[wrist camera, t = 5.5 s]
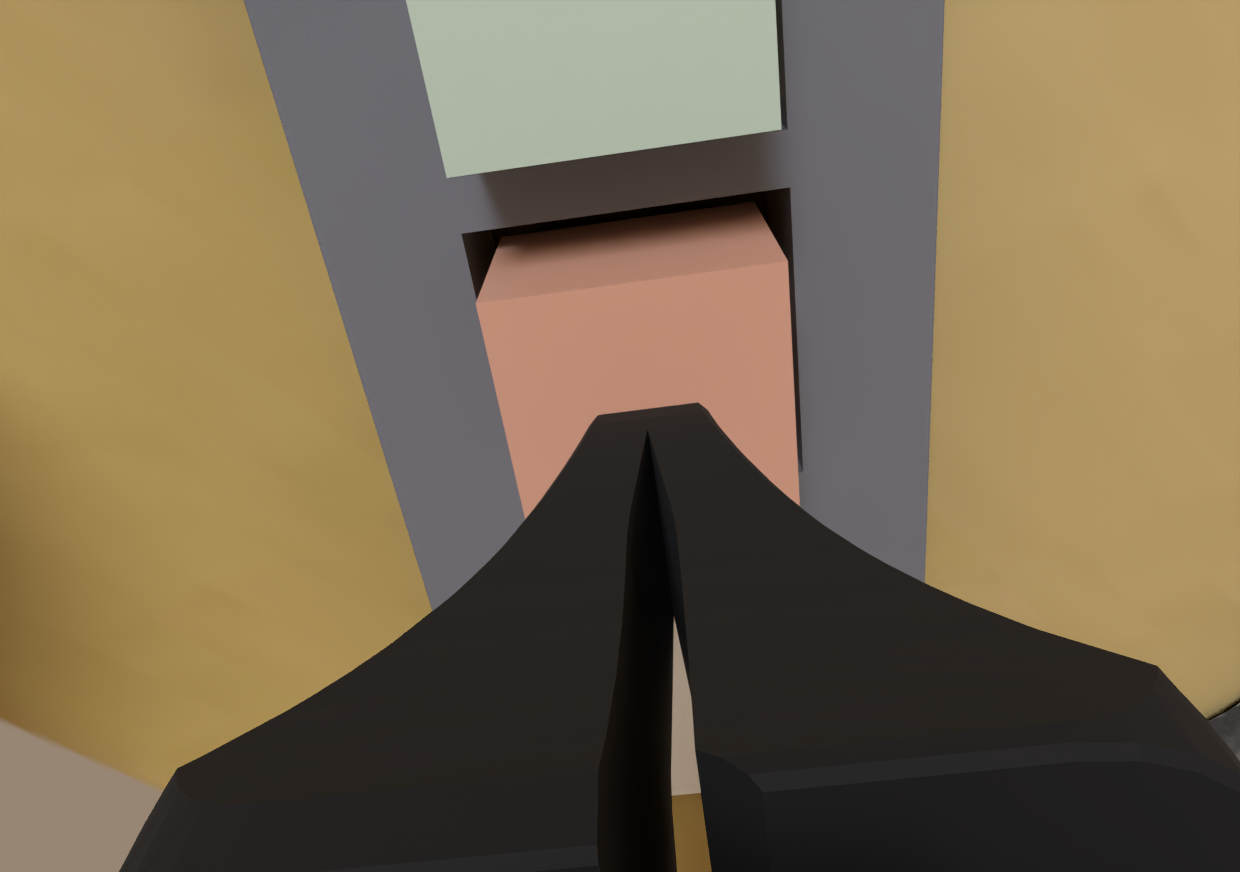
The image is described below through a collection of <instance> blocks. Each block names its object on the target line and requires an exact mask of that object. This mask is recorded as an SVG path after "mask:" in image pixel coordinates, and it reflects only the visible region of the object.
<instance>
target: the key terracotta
mask: <svg viewBox="0 0 1240 872" xmlns="http://www.w3.org/2000/svg"><path fill="white" fill-rule="evenodd" d="M476 308H477V312H478V316H479V321H480V325H481V329H482V334H483V338H484V342H485V347H486V351H487V355H488V360H489V364H490V369H491V373H492V377H493V382H494V386H495V390H496V395H497V399H498V403H499V408H500V412H501V416H502V421H503V425H504V429H505V434H506V438H507V443H508V447H509V451H510V456H511V460H512V464H513V469H514V473H515V477H516V482H517V486H518V490H519V495H520V499H521V503H522V508H523V512H524V517H525V519H526V518H527V517H528V515H529V514H530V513H531V512H532V510H533V509H534V508H535V507H536V505H537V504H538V503H539V501H540V500H541V499H542V497H543V496H544V494H545V493H546V492H547V490H548V489H549V487H550V486H551V485H552V483H553V482H554V480H555V479H556V478H557V476H558V475H559V473H560V472H561V470H562V469H563V468H564V466H565V464H566V463H567V461H568V460H569V458H570V457H571V455H572V454H573V452H574V450H575V449H576V447H577V446H578V444H579V442H580V441H581V439H582V437H583V436H584V434H585V432H586V431H587V429H588V427H589V426H590V424H591V423H592V422H593V420H594V419H595V418H596V417H597V416H598V415H602V414H610V413H618V412H626V411H634V410H642V409H650V408H658V407H666V406H673V405H681V404H689V403H697V402H698V403H700V404H701V405H702V406H704V407H705V408H706V409H707V410H708V411H709V412H710V414H711V416H712V417H713V418H714V420H715V421H716V423H717V424H718V425H719V427H720V428H721V429H722V430H723V432H724V433H725V434H726V435H727V436H728V437H729V439H730V440H731V441H732V442H733V443H734V444H735V445H736V447H737V448H738V449H739V450H740V451H741V452H742V453H743V454H744V455H745V456H746V457H747V458H748V459H749V460H750V461H751V462H752V463H753V464H754V465H755V466H756V467H757V468H758V469H759V470H760V471H761V472H762V473H763V474H764V475H765V476H766V477H767V478H768V479H769V480H770V481H771V482H772V483H773V484H774V485H776V486H777V487H778V488H779V489H780V490H781V491H782V492H783V493H784V494H786V495H787V496H788V497H789V498H790V499H792V500H793V501H794V502H795V503H796V504H798V505H799V506H800V498H799V478H798V457H797V437H796V416H795V396H794V375H793V354H792V334H791V313H790V293H789V272H788V260H787V259H786V257H785V255H784V253H783V252H782V250H781V248H780V246H779V244H778V243H777V241H776V239H775V237H774V236H773V234H772V232H771V230H770V229H769V227H768V225H767V223H766V222H765V220H764V218H763V216H762V214H761V213H760V211H759V209H758V207H757V206H756V204H755V202H748V203H741V204H734V205H727V206H720V207H712V208H705V209H698V210H691V211H684V212H677V213H670V214H663V215H655V216H648V217H641V218H634V219H627V220H620V221H613V222H606V223H598V224H591V225H584V226H577V227H570V228H563V229H556V230H549V231H541V232H534V233H527V234H520V235H513V236H506V237H501V239H500V242H499V244H498V247H497V249H496V252H495V255H494V257H493V260H492V262H491V265H490V268H489V270H488V273H487V275H486V278H485V281H484V283H483V286H482V288H481V291H480V294H479V296H478V299H477V301H476Z"/></svg>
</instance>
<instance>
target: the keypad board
mask: <svg viewBox="0 0 1240 872" xmlns="http://www.w3.org/2000/svg"><path fill="white" fill-rule="evenodd" d="M944 2H945V0H775V5H776V26H777V46H778V67H779V87H780V108H781V129H782V130H775V131H768V132H761V133H754V134H747V135H741V136H734V137H727V138H720V139H713V140H706V141H699V142H692V143H685V144H678V145H672V146H665V147H658V148H651V149H644V150H637V151H630V152H623V153H616V154H609V155H603V156H596V157H589V158H582V159H575V160H568V161H561V162H554V163H547V164H540V165H533V166H527V167H520V168H513V169H506V170H499V171H492V172H485V173H478V174H471V175H464V176H458V177H451V178H447V177H446V173H445V168H444V164H443V160H442V155H441V151H440V147H439V142H438V138H437V133H436V129H435V125H434V120H433V116H432V112H431V107H430V103H429V99H428V94H427V90H426V86H425V81H424V77H423V73H422V68H421V64H420V59H419V55H418V51H417V46H416V42H415V38H414V33H413V29H412V25H411V20H410V16H409V12H408V7H407V3H406V0H244V3H245V6H246V9H247V13H248V16H249V19H250V22H251V25H252V29H253V32H254V35H255V38H256V42H257V45H258V48H259V51H260V55H261V58H262V61H263V64H264V68H265V71H266V74H267V77H268V80H269V84H270V87H271V90H272V93H273V97H274V100H275V103H276V106H277V110H278V113H279V116H280V119H281V123H282V126H283V129H284V132H285V135H286V139H287V142H288V145H289V148H290V152H291V155H292V158H293V161H294V165H295V168H296V171H297V174H298V177H299V181H300V184H301V187H302V190H303V194H304V197H305V200H306V203H307V207H308V210H309V213H310V216H311V220H312V223H313V226H314V229H315V232H316V236H317V239H318V242H319V245H320V249H321V252H322V255H323V258H324V262H325V265H326V268H327V271H328V275H329V278H330V281H331V284H332V287H333V291H334V294H335V297H336V300H337V304H338V307H339V310H340V313H341V317H342V320H343V323H344V326H345V329H346V333H347V336H348V339H349V342H350V346H351V349H352V352H353V355H354V359H355V362H356V365H357V368H358V372H359V375H360V378H361V381H362V384H363V388H364V391H365V394H366V397H367V401H368V404H369V407H370V410H371V414H372V417H373V420H374V423H375V427H376V430H377V433H378V436H379V439H380V443H381V446H382V449H383V452H384V456H385V459H386V462H387V465H388V469H389V472H390V475H391V478H392V481H393V485H394V488H395V491H396V494H397V498H398V501H399V504H400V507H401V511H402V514H403V517H404V520H405V524H406V527H407V530H408V533H409V536H410V540H411V543H412V546H413V549H414V553H415V556H416V559H417V562H418V566H419V569H420V572H421V575H422V579H423V582H424V585H425V588H426V591H427V595H428V598H429V601H430V604H431V608H432V611H433V610H435V609H436V608H437V607H438V606H440V605H441V604H442V603H443V602H445V601H446V600H447V599H448V598H450V597H451V596H452V595H453V594H454V593H455V592H457V591H458V590H459V589H460V588H461V587H462V586H463V585H464V584H465V583H466V582H467V581H468V580H469V579H471V578H472V577H473V576H474V575H475V574H476V573H477V572H478V571H479V570H480V569H481V568H482V567H483V566H484V565H485V564H486V563H487V562H488V561H489V560H490V559H491V558H492V557H493V556H494V555H495V554H496V553H497V552H498V551H499V550H500V549H501V548H502V547H503V545H504V544H505V543H506V542H507V541H508V540H509V538H510V537H511V536H512V535H513V534H514V532H515V531H516V530H517V529H518V527H519V526H520V525H521V524H522V523H523V521H524V520H525V517H524V512H523V508H522V503H521V499H520V495H519V490H518V486H517V482H516V477H515V473H514V469H513V464H512V460H511V456H510V451H509V447H508V443H507V438H506V434H505V429H504V425H503V421H502V416H501V412H500V408H499V403H498V399H497V395H496V390H495V386H494V382H493V377H492V373H491V369H490V364H489V360H488V355H487V351H486V347H485V342H484V338H483V334H482V329H481V325H480V321H479V316H478V312H477V308H476V301H477V299H478V296H479V294H480V291H481V288H482V286H483V283H484V281H485V278H486V275H487V273H488V270H489V268H490V265H491V262H492V260H493V257H494V255H495V252H496V251H495V246H494V241H493V237H492V232H491V229H498V228H505V227H512V226H519V225H527V224H534V223H541V222H548V221H555V220H562V219H569V218H576V217H583V216H590V215H597V214H605V213H612V212H619V211H626V210H633V209H640V208H647V207H654V206H661V205H668V204H676V203H683V202H690V201H697V200H704V199H711V198H718V197H725V196H732V195H739V194H747V193H754V192H761V191H766V197H767V214H768V227H769V229H770V230H771V232H772V234H773V236H774V237H775V239H776V241H777V243H778V244H779V246H780V248H781V250H782V252H783V253H784V255H785V257H786V259H787V260H788V272H789V293H790V313H791V334H792V354H793V375H794V396H795V416H796V437H797V457H798V478H799V498H800V507H801V508H803V509H804V510H805V511H806V512H807V513H809V514H810V515H811V516H813V517H814V518H815V519H816V520H818V521H819V522H820V523H822V524H823V525H824V526H826V527H827V528H829V529H831V530H832V531H834V532H835V533H837V534H838V535H840V536H841V537H843V538H844V539H846V540H847V541H849V542H851V543H852V544H854V545H855V546H857V547H858V548H860V549H862V550H863V551H865V552H867V553H868V554H870V555H872V556H874V557H876V558H877V559H879V560H881V561H883V562H884V563H886V564H888V565H890V566H892V567H894V568H896V569H898V570H900V571H902V572H904V573H906V574H908V575H910V576H912V577H914V578H916V579H918V580H920V581H922V582H924V583H925V556H926V527H927V498H928V468H929V439H930V410H931V381H932V352H933V323H934V293H935V264H936V235H937V206H938V177H939V148H940V118H941V89H942V60H943V31H944Z"/></svg>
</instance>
